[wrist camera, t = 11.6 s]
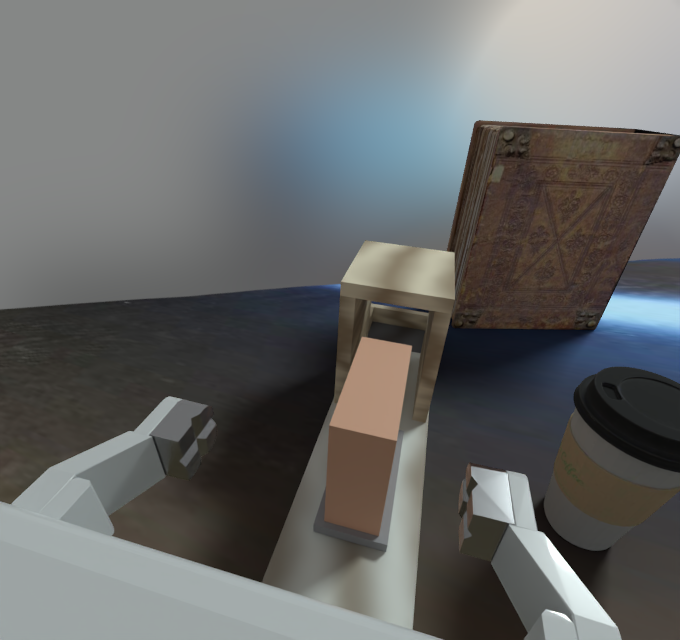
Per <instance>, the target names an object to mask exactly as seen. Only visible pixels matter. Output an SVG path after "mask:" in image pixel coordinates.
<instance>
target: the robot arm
mask: <svg viewBox="0 0 680 640" xmlns="http://www.w3.org/2000/svg"><path fill="white" fill-rule="evenodd" d="M213 415H214V412H213V408H212V407H211V406H207V405H203V404H199V403H195V402H191V401H187V400H183V399H179V398H175V397H170V396H169V397H167V398H165V399H164V400H163V401H162V402H161V403H160V404H159V405H158V406H157V407H156V408H155V409H154V410H153V411H152V413H151V414H150V415H149V416H148V417H147V418H146V419H145V420H144V421H143V422H142V423H141V424H140V425H139V426H138V428H137V429H136V430H135V431H134V432H132V431H128V432H126V433H124V434H122V435H120V436H118V437H115V438H113V439H111V440H109V441H107V442H105V443H102V444H100V445H98V446H96V447H94V448H91V449H89V450H87V451H85V452H83V453H81V454H78V455H76V456H74V457H72V458H70V459H68V460H65V461H63V462H61V463H59V464H57V465H55V466H52V467H50V468H49V469H48V470H47V471H46V472H45V473H44V474H42V475H41V476H40V477H39V478H38V479H37V480H36V481H35V482H34V483H33V484H32V485H31V486H30V487H29V488H28V489H27V490H25V491H24V492H23V493H22V494H21V495H20V496H19V497H18V498H17V499H16V500H15V501H14V502H13V503H12V504H11V505H10V504H7V503H4V502H1V501H0V640H443V639H440V638H437V637H434V636H431V635H427V634H424V633H421V632H418V631H415V630H411V629H408V628H405V627H402V626H399V625H395V624H392V623H389V622H386V621H383V620H379V619H376V618H373V617H370V616H367V615H363V614H360V613H357V612H354V611H351V610H347V609H344V608H341V607H338V606H335V605H331V604H328V603H325V602H322V601H318V600H315V599H312V598H309V597H306V596H302V595H299V594H296V593H293V592H290V591H286V590H283V589H280V588H277V587H274V586H270V585H267V584H264V583H261V582H258V581H254V580H251V579H248V578H245V577H242V576H238V575H235V574H232V573H229V572H226V571H222V570H219V569H216V568H213V567H209V566H206V565H203V564H200V563H197V562H193V561H190V560H187V559H184V558H181V557H177V556H174V555H171V554H168V553H164V552H161V551H158V550H155V549H152V548H148V547H145V546H142V545H139V544H136V543H132V542H129V541H126V540H123V539H119V538H116V537H113V536H112V535H113V533H114V527H113V525H112V523H111V521H110V519H109V517H108V516H109V515H110V514H112V513H113V512H115V511H116V510H118V509H119V508H121V507H122V506H123V505H125V504H126V503H128V502H129V501H131V500H132V499H134V498H135V497H137V496H138V495H140V494H141V493H143V492H144V491H145V490H147V489H148V488H150V487H151V486H153V485H154V484H156V483H157V482H159V481H160V480H162V479H163V478H164V477H165V475H167V476H171V477H176V478H180V479H184V480H188V481H190V479H191V478H192V477H193V475H194V474H195V472H196V471H197V469H198V468H199V466H200V465H201V456H203V455H205V454H207V453H208V452H209V451H210V450H211V448H212V447H213V445H214V442H215V439H216V437H217V426H216V423H215V422H214V421H213V420H212V419H211V418H212V417H213ZM459 515H460V517H461V518H462V521H461V524H460V527H459V552H460V553H463V554H466V555H470V556H473V557H477V558H480V559H483V560H487V561H490V562H491V565H492V566H493V568H494V570H495V572H496V574H497V576H498V578H499V580H500V581H501V583H502V585H503V587H504V589H505V591H506V593H507V595H508V596H509V598H510V600H511V602H512V604H513V606H514V608H515V610H516V612H517V613H518V615H519V617H520V619H521V621H522V623H523V625H524V627H525V628H526V630H527V632H528V634H527V635H526V637H525V638H524V640H621V636H620V633H619V630H618V627H617V626H616V625H615V624H614V622H613V621H612V620H611V618H610V617H609V616H608V615H607V613H606V612H605V611H604V610H603V608H602V607H601V606H600V604H599V603H598V602H597V601H596V599H595V598H594V597H593V595H592V594H591V593H590V592H589V590H588V589H587V588H586V586H585V585H584V584H583V583H582V581H581V580H580V579H579V577H578V576H577V575H576V574H575V572H574V571H573V570H572V568H571V567H570V566H569V565H568V563H567V562H566V561H565V559H564V558H563V557H562V556H561V554H560V553H559V552H558V551H557V549H556V548H555V547H554V545H553V544H552V543H551V542H550V540H549V539H548V538H547V536H546V535H545V534H544V533H543V532H540V531H537V525H536V520H535V515H534V510H533V504H532V499H531V494H530V489H529V483H528V478H527V477H526V475H524V474H520V473H515V472H511V471H505V470H503V469H498V468H493V467H488V466H484V465H479V464H474V463H469V464H468V466H467V469H466V479H465V480H463V481H462V485H461V489H460V495H459Z"/></svg>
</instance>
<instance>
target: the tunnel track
mask: <svg viewBox="0 0 680 640" xmlns="http://www.w3.org/2000/svg"><path fill="white" fill-rule="evenodd" d="M371 301H376V302H382V303H388V304H394V305H400V306H406V307H412V308H418V309H424V310H429V313H425V312H419V311H413V310H407V309H401V308H395V307H389V306H383V305H377V304H371ZM454 302H455V253H454V252H447V251H439V250H432V249H424V248H417V247H410V246H403V245H395V244H388V243H380V242H372V241H365V242H364V244H363V245H362V247H361V249H360V250H359V252H358V254H357V255H356V257H355V259H354V261H353V262H352V264H351V266H350V268H349V269H348V271H347V273H346V274H345V276H344V278H343V279H342V281H341V292H340V309H339V326H338V343H337V361H336V378H335V395H334V398H333V401H332V403H331V406H330V409H329V411H328V414H327V416H326V419H325V421H324V424H323V427H322V429H321V432H320V434H319V437H318V439H317V442H316V445H315V447H314V450H313V452H312V455H311V457H310V460H309V462H308V465H307V468H306V470H305V473H304V475H303V478H302V480H301V483H300V486H299V488H298V491H297V493H296V496H295V498H294V501H293V504H292V506H291V509H290V511H289V514H288V516H287V519H286V522H285V524H284V527H283V529H282V532H281V534H280V537H279V539H278V542H277V545H276V547H275V550H274V552H273V555H272V557H271V560H270V563H269V565H268V568H267V570H266V573H265V575H264V578H263V581H262V583H264V584H267V585H270V586H274V587H277V588H280V589H283V590H286V591H290V592H293V593H296V594H299V595H302V596H306V597H309V598H312V599H315V600H318V601H322V602H325V603H328V604H331V605H335V606H338V607H341V608H344V609H347V610H351V611H354V612H357V613H360V614H363V615H367V616H370V617H373V618H376V619H379V620H383V621H386V622H389V623H392V624H395V625H399V626H402V627H405V628H408V629H411V630H412V629H413V616H414V603H415V590H416V576H417V563H418V550H419V536H420V523H421V510H422V497H423V483H424V470H425V457H426V443H427V430H428V417H429V407H430V403H431V398H432V394H433V390H434V386H435V382H436V377H437V373H438V369H439V365H440V361H441V356H442V352H443V348H444V344H445V339H446V335H447V331H448V327H449V323H450V318H451V314H452V310H453V306H454ZM362 337H367V338H372V339H378V340H383V341H389V342H394V343H399V344H405V345H410V346H412V350H411V356H410V362H409V369H408V375H407V381H406V387H405V393H404V400H403V406H402V412H401V418H400V425H399V430H402V431H404V434H403V441H402V448H401V455H400V462H399V469H398V475H397V482H396V489H395V496H394V503H393V510H392V517H391V524H390V531H389V538H388V545H387V550H386V552H384V551H380V550H377V549H373V548H370V547H366V546H363V545H359V544H356V543H352V542H349V541H345V540H342V539H338V538H335V537H331V536H328V535H324V534H321V533H317V532H314V531H313V525H314V521H315V518H316V515H317V512H318V509H319V506H320V503H321V500H322V497H323V493H324V490H325V487H326V476H327V457H328V437H329V424H330V422H331V419H332V416H333V414H334V411H335V408H336V405H337V403H338V400H339V397H340V395H341V392H342V389H343V387H344V384H345V381H346V379H347V376H348V373H349V370H350V368H351V365H352V362H353V360H354V357H355V354H356V352H357V349H358V346H359V344H360V341H361V338H362Z"/></svg>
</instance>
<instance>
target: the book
mask: <svg viewBox="0 0 680 640" xmlns="http://www.w3.org/2000/svg"><path fill="white" fill-rule="evenodd" d="M679 154H680V135H673V134H666V133H659V132H652V131H645V130H638V129H624V128H606V127H589V126H587V127H586V126H571V125H553V124H551V125H550V124H535V123H534V124H533V123H517V122H499V121H481V120H479V121H476V122H475V124H474V128H473V133H472V137H471V142H470V146H469V151H468V156H467V160H466V165H465V170H464V174H463V179H462V183H461V188H460V193H459V197H458V202H457V207H456V211H455V216H454V220H453V225H452V229H451V234H450V239H449V243H448V248H447V252H454V253H455V302H454V306H453V310H452V314H451V318H452V324H451V325H452V326H453V328H483V329H576V330H595V329H596V327H597V325H598V323H599V321H600V319H601V317H602V315H603V313H604V311H605V308H606V306H607V304H608V302H609V300H610V298H611V296H612V294H613V292H614V290H615V288H616V286H617V283H618V281H619V279H620V277H621V275H622V273H623V271H624V269H625V267H626V265H627V263H628V260H629V258H630V256H631V254H632V252H633V250H634V248H635V246H636V244H637V242H638V239H639V238H640V235H641V233H642V231H643V229H644V227H645V225H646V223H647V221H648V219H649V217H650V215H651V213H652V211H653V208H654V206H655V204H656V202H657V200H658V198H659V196H660V194H661V192H662V190H663V188H664V186H665V183H666V181H667V179H668V177H669V175H670V173H671V171H672V169H673V167H674V165H675V163H676V161H677V158H678V156H679Z"/></svg>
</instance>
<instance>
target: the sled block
mask: <svg viewBox="0 0 680 640" xmlns="http://www.w3.org/2000/svg"><path fill="white" fill-rule="evenodd" d="M411 350H412V346H410V345H405V344H399V343H394V342H389V341H383V340H378V339H372V338H367V337H362V338H361V341H360V344H359V346H358V349H357V352H356V354H355V357H354V360H353V362H352V365H351V368H350V370H349V373H348V376H347V379H346V381H345V384H344V387H343V389H342V392H341V395H340V397H339V400H338V403H337V405H336V408H335V411H334V414H333V416H332V419H331V422H330V424H329V437H328V457H327V476H326V487H325V490H324V493H323V497H322V500H321V503H320V506H319V509H318V512H317V515H316V518H315V521H314V525H313V531H314V532H317V533H321V534H324V535H328V536H331V537H335V538H338V539H342V540H345V541H349V542H352V543H356V544H359V545H363V546H366V547H370V548H373V549H377V550H380V551H384V552H386V550H387V545H388V538H389V531H390V524H391V517H392V510H393V503H394V496H395V489H396V482H397V475H398V469H399V462H400V455H401V448H402V441H403V434H404V431H402V430H399V425H400V418H401V412H402V406H403V400H404V393H405V387H406V381H407V375H408V369H409V362H410V356H411Z"/></svg>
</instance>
